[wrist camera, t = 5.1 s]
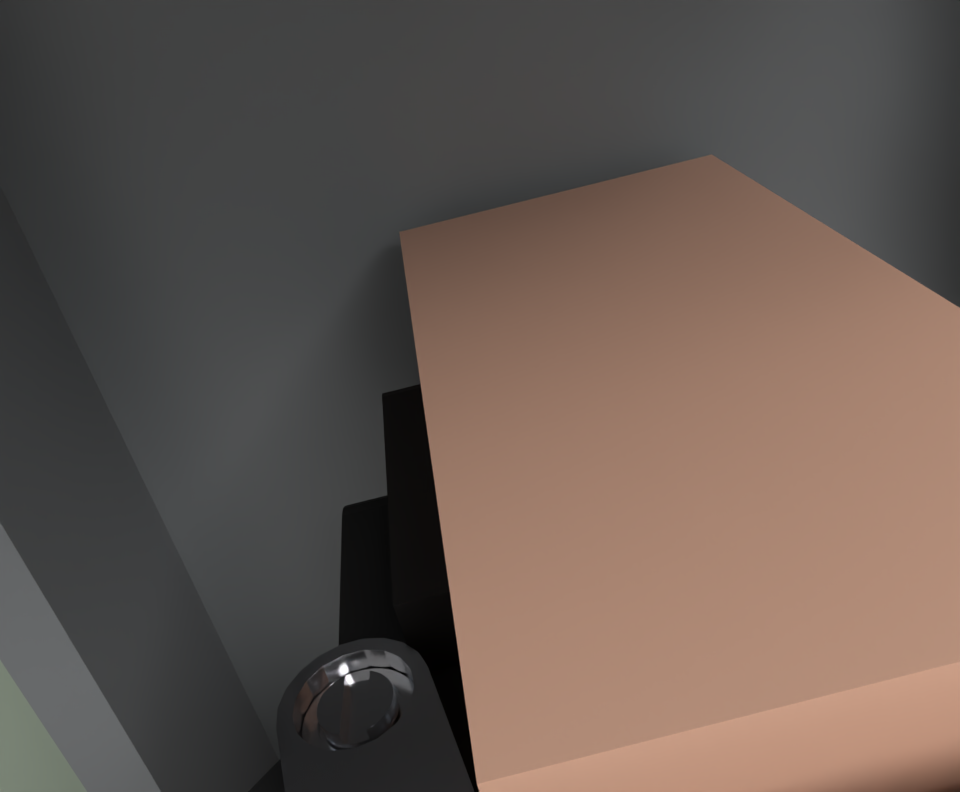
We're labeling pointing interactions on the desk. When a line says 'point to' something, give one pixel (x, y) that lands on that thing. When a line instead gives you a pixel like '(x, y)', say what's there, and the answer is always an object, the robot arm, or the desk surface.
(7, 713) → the olive mat
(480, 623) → the block
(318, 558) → the equipment case
